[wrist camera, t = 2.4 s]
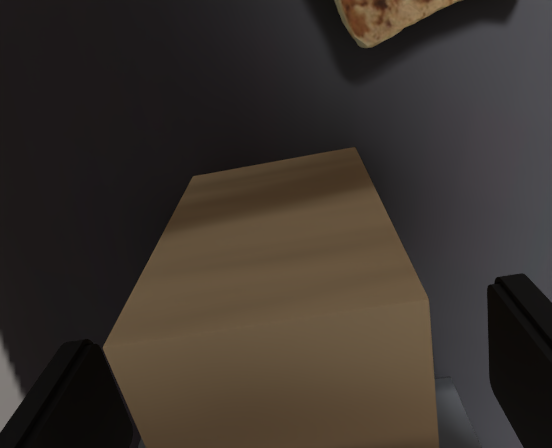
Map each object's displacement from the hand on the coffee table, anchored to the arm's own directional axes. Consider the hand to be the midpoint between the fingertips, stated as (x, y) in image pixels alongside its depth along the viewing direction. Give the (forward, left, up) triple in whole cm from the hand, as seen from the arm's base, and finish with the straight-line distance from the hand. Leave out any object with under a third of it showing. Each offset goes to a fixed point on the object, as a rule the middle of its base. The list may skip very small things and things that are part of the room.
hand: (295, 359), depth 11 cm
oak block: (-1, 0, -5) cm, 5 cm away
